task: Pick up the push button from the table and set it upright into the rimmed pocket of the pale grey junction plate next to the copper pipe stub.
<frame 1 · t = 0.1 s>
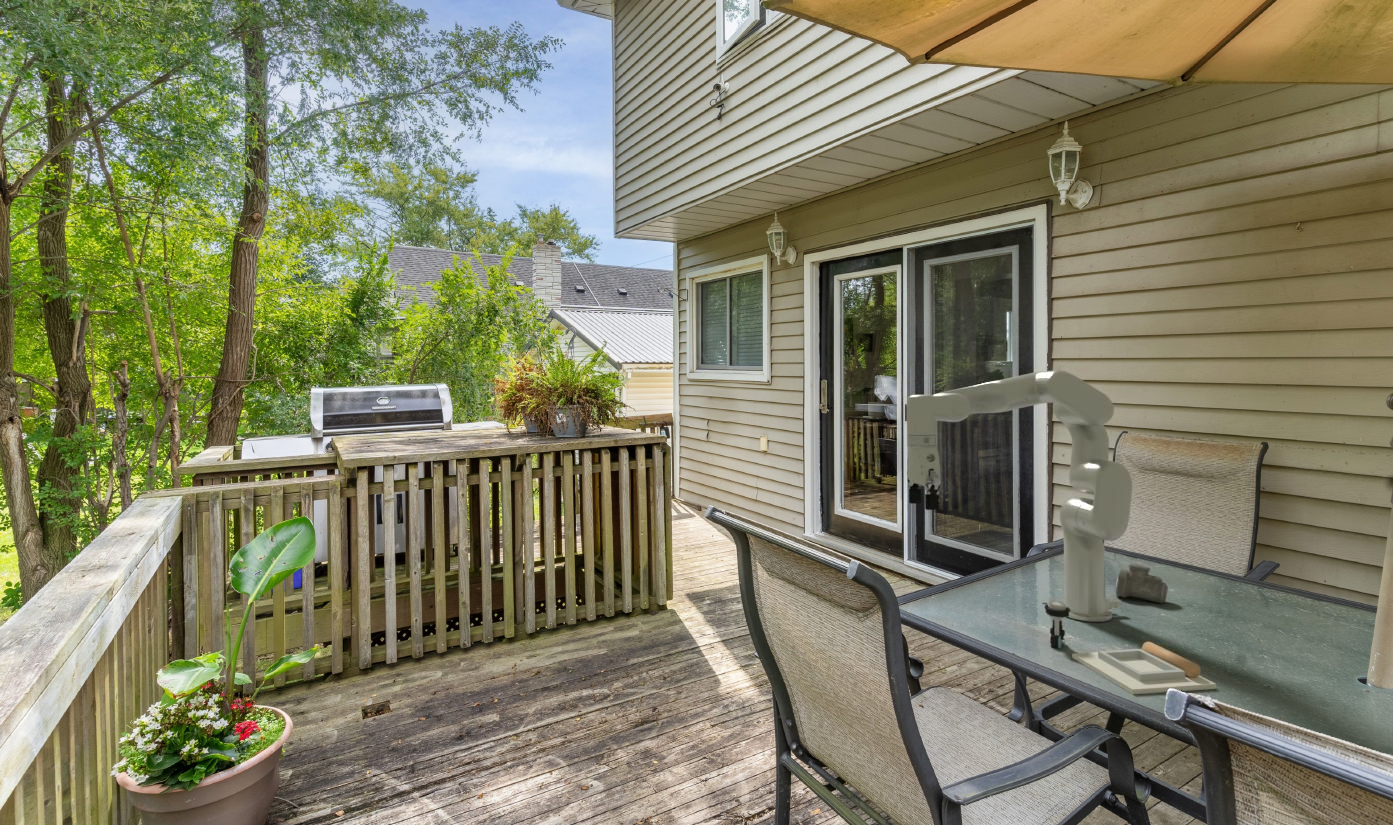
hand: (923, 506, 169), 31 cm above the table, fingers open, 9 cm apart
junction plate: (1139, 672, 138), on the table
push button: (1057, 644, 154), on the table
pipe fitting: (1141, 600, 185), on the table
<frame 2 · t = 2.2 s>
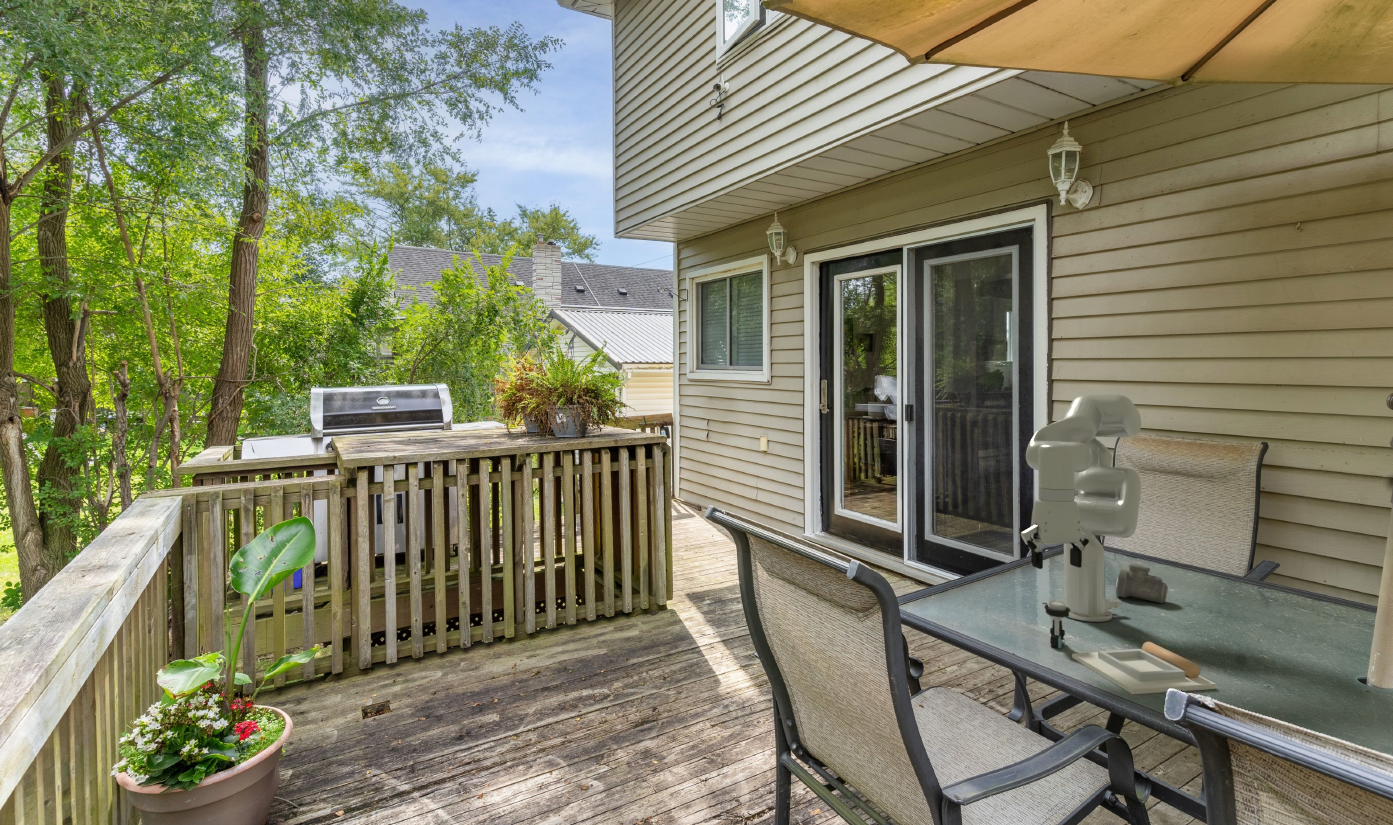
hand: (1056, 566, 153), 19 cm above the table, fingers open, 9 cm apart
nothing on the table moved.
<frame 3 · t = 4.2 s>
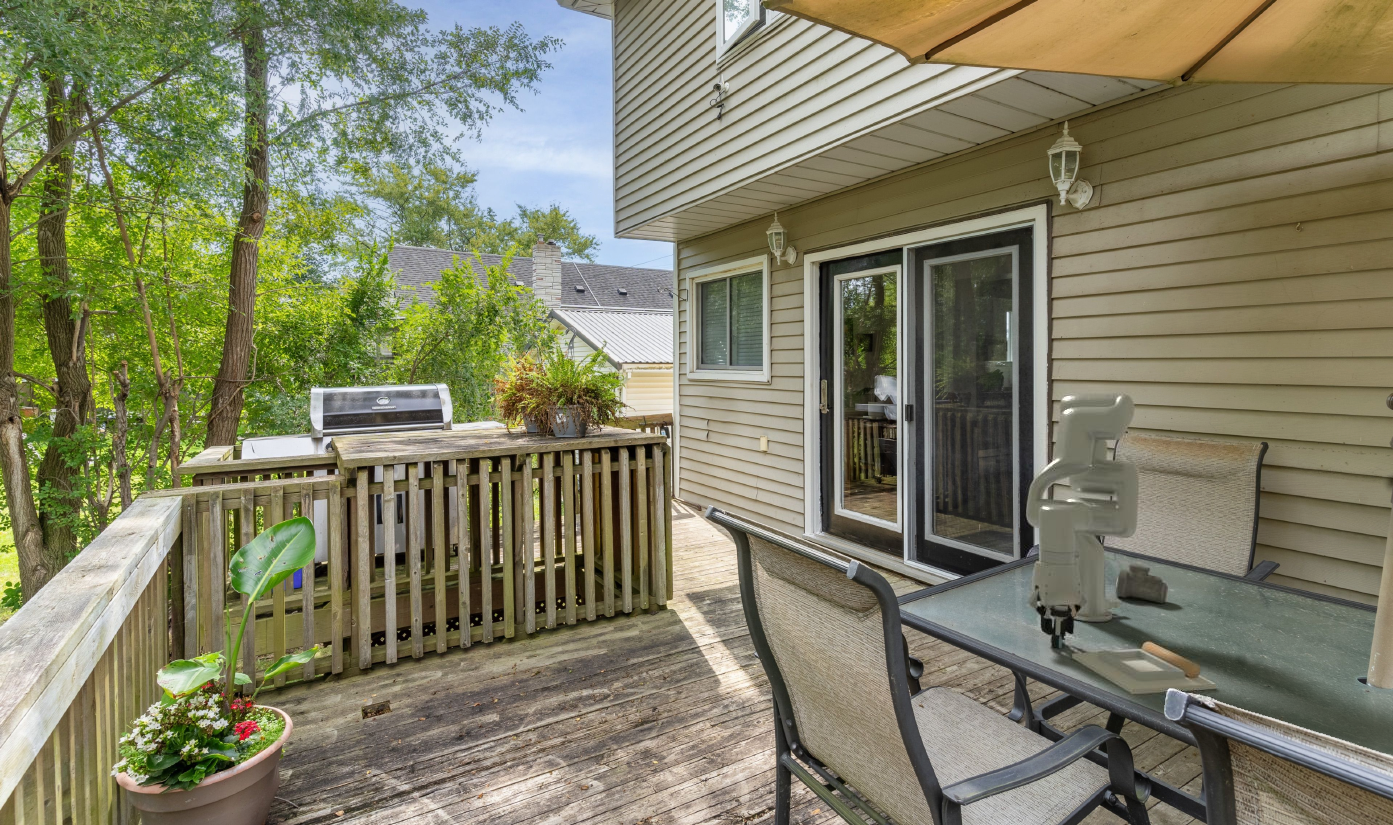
hand: (1057, 631, 154), 3 cm above the table, fingers closed on push button, 4 cm apart
push button: (1057, 644, 154), on the table, touching gripper
everything else where it was.
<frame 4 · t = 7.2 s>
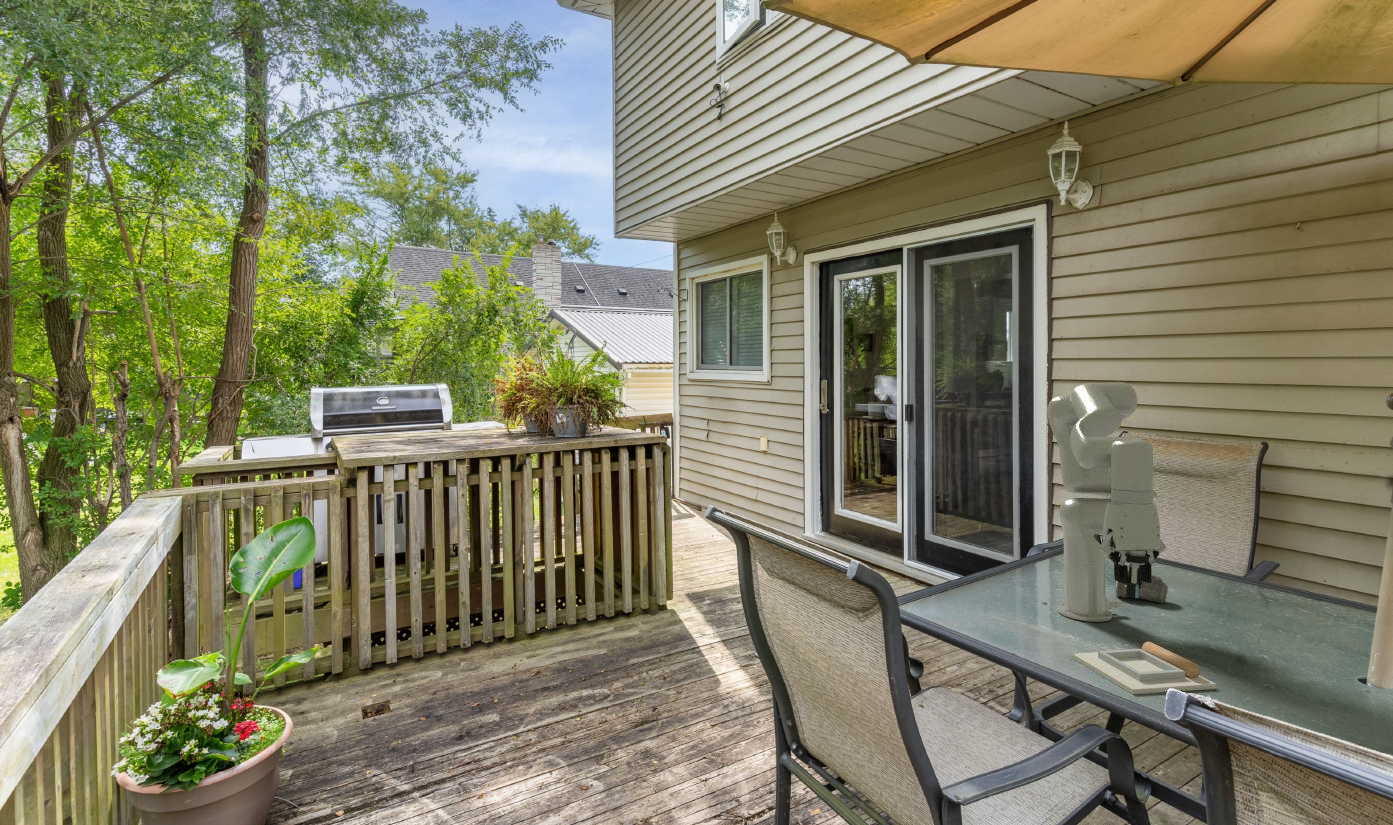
hand: (1132, 580, 138), 20 cm above the table, fingers closed on push button, 4 cm apart
push button: (1133, 594, 139), point 16 cm above the table, touching gripper
everything else where it was.
when the fingers open (5 cm above the table, at t = 10.5 s): push button stays where it is, resting on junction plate.
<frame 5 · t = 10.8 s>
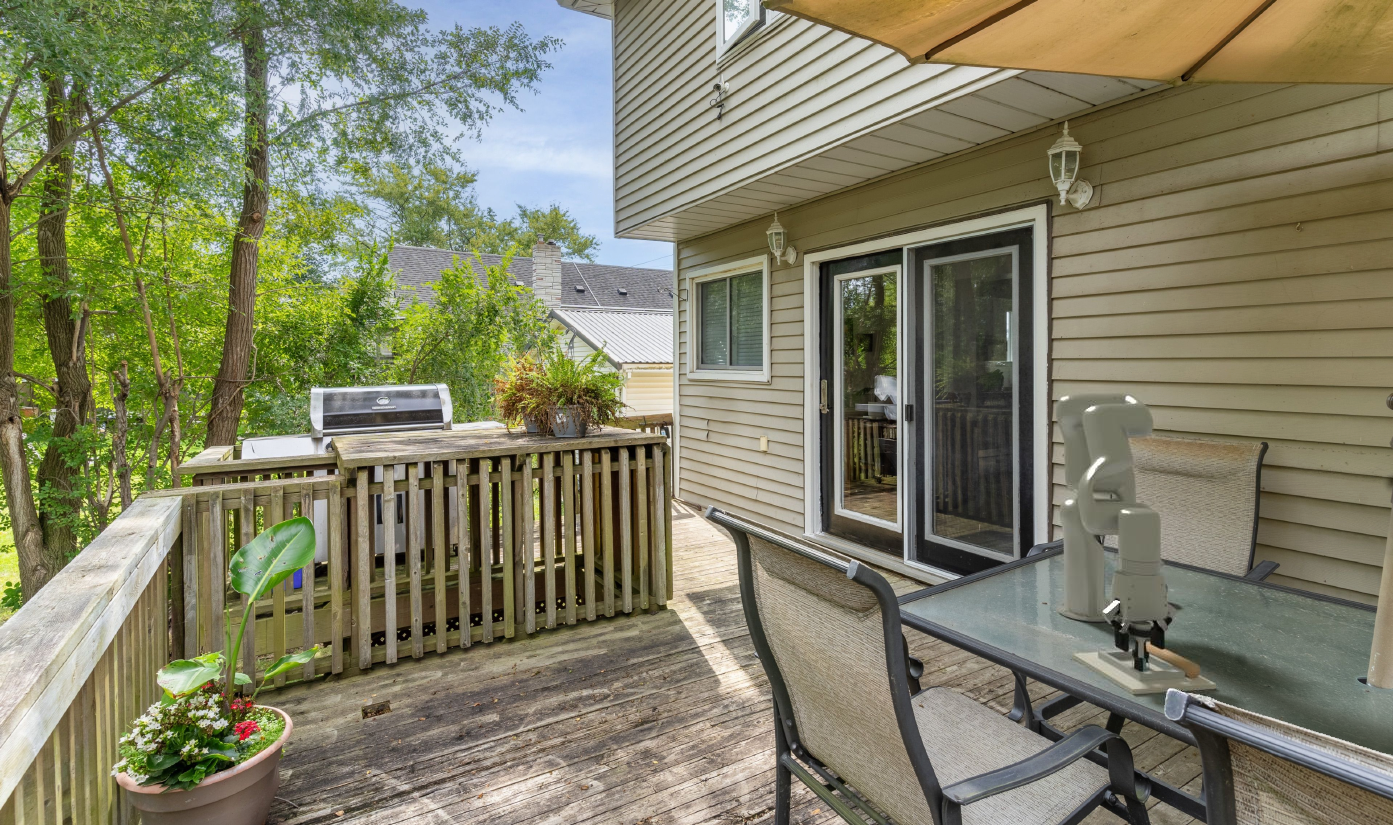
hand: (1139, 647, 138), 5 cm above the table, fingers open, 7 cm apart
push button: (1140, 668, 138), point 1 cm above the table, touching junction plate
everything else where it was.
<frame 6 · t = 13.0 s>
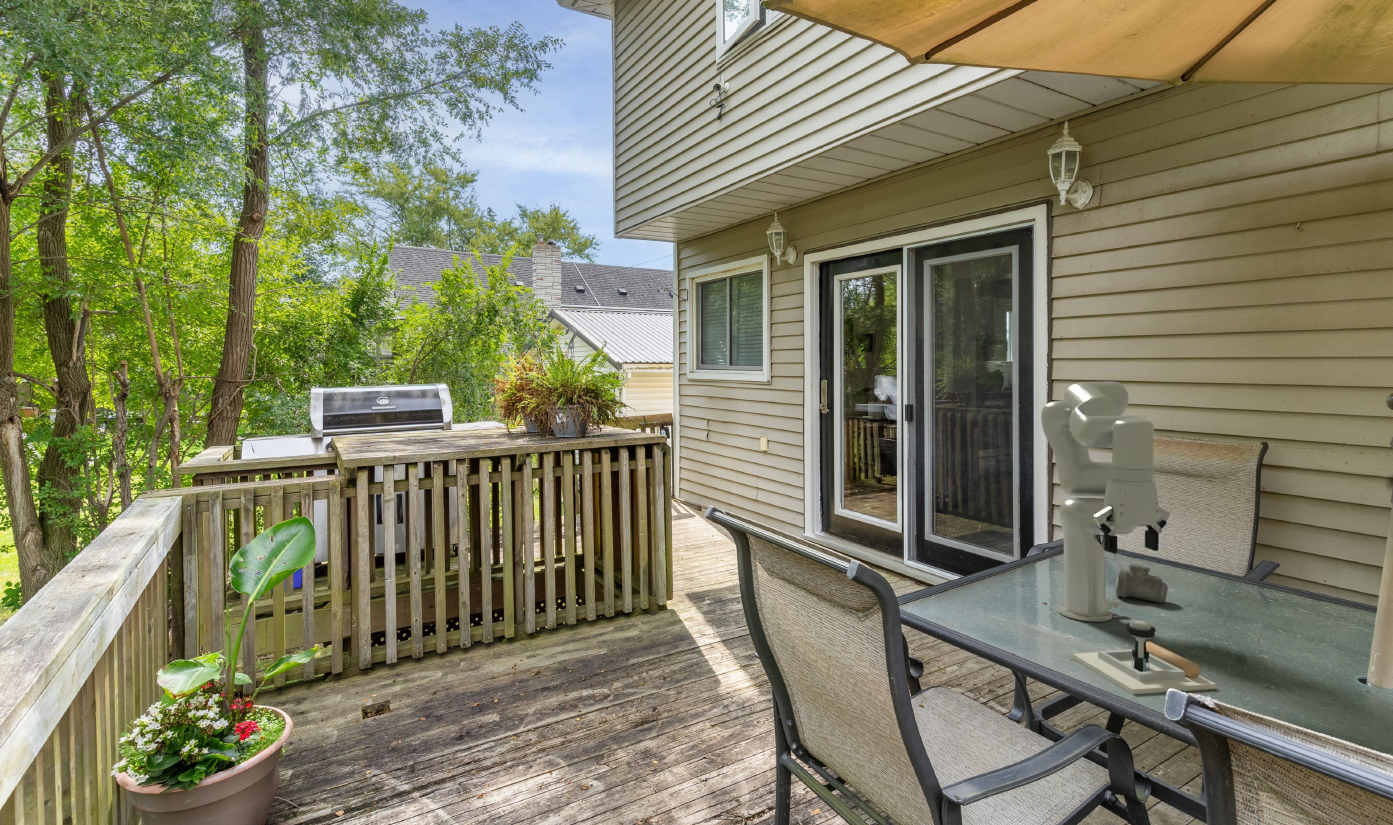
hand: (1131, 550, 144), 25 cm above the table, fingers open, 9 cm apart
nothing on the table moved.
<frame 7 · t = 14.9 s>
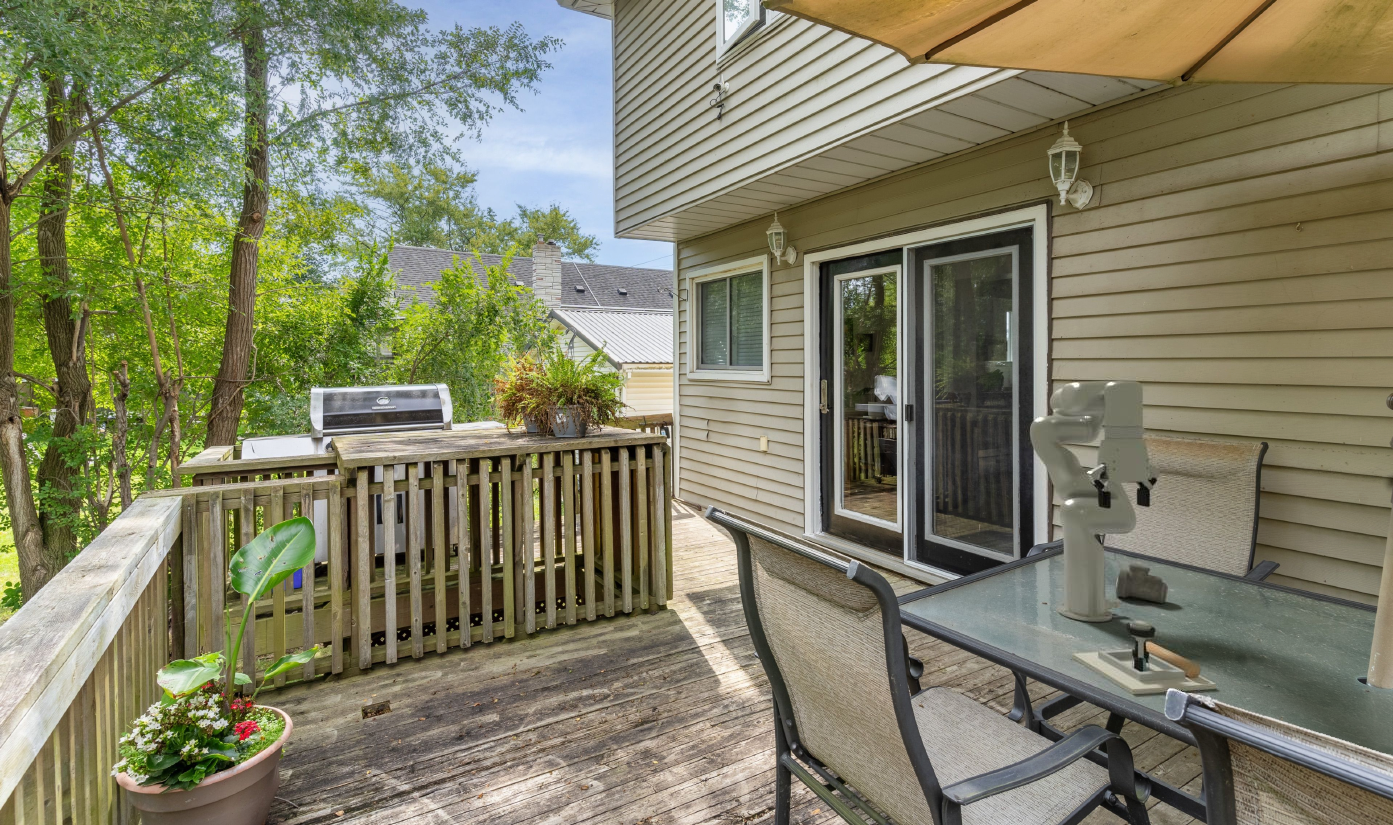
hand: (1124, 506, 151), 33 cm above the table, fingers open, 9 cm apart
nothing on the table moved.
at the end: push button 0.4 cm off-centre on the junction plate, point 0.8 cm above the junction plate's base; push button tilted 0°; the gripper is holding nothing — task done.
